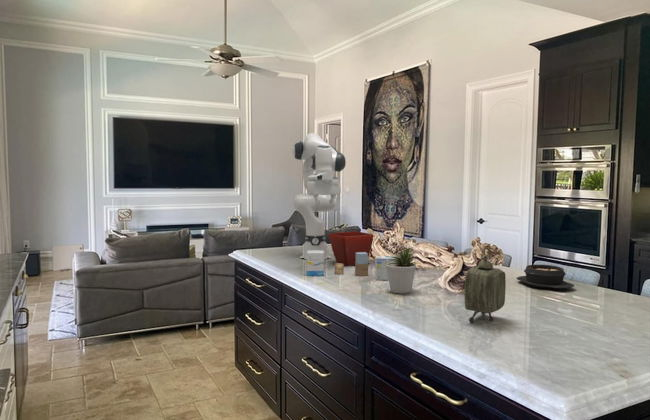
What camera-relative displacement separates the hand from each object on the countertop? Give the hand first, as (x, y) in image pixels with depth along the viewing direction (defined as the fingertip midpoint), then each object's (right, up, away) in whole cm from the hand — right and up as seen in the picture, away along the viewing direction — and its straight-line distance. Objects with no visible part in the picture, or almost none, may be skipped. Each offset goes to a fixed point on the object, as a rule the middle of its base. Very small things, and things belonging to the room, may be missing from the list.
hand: (324, 203), depth 246 cm
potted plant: (+33, -38, -42) cm, 66 cm away
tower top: (+18, -30, -8) cm, 36 cm away
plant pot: (+15, -34, +23) cm, 43 cm away
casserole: (+98, -37, -33) cm, 110 cm away
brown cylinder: (+7, -35, -5) cm, 37 cm away
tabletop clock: (+55, -41, -83) cm, 108 cm away
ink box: (-5, -36, -6) cm, 37 cm away
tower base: (+18, -36, -8) cm, 41 cm away
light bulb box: (+30, -37, -17) cm, 50 cm away
